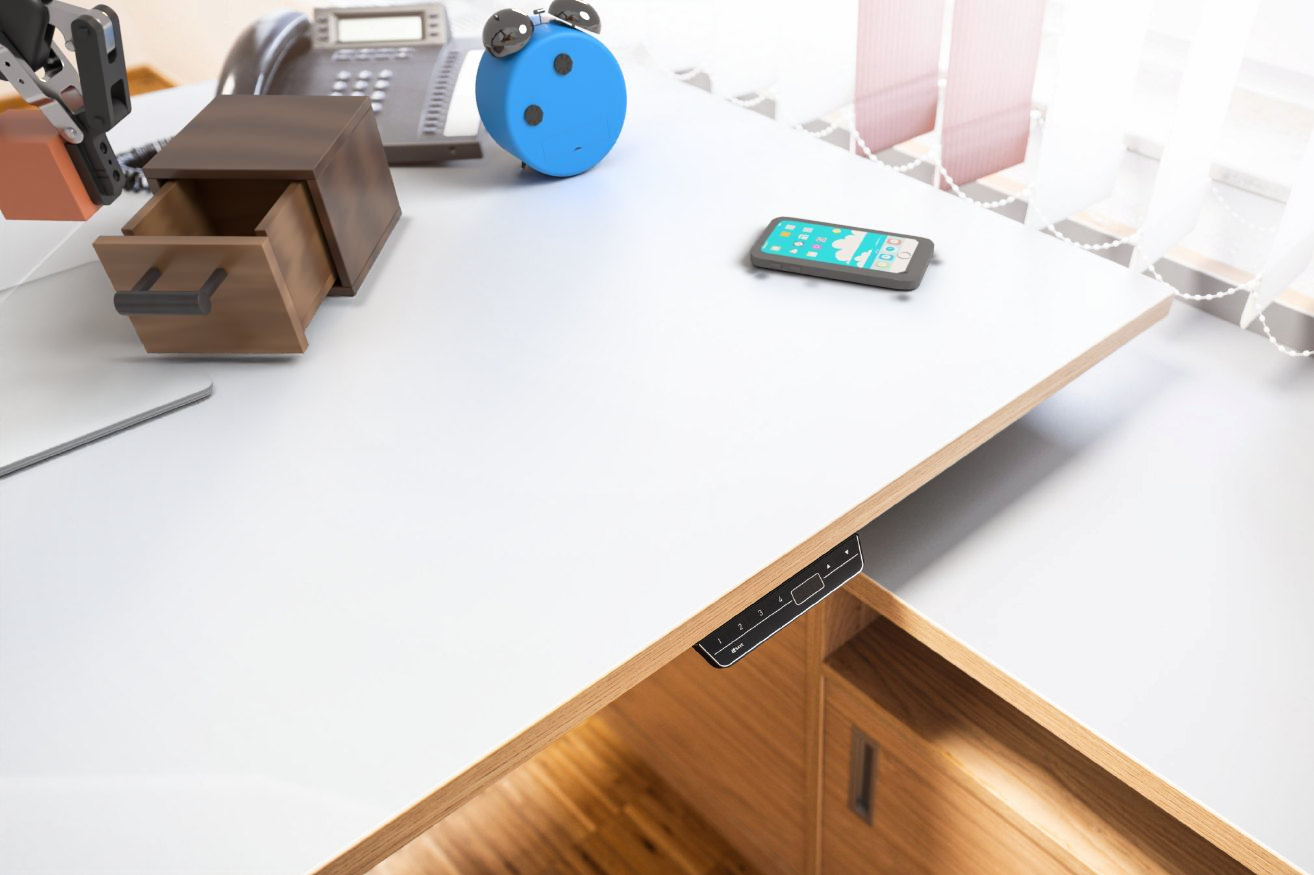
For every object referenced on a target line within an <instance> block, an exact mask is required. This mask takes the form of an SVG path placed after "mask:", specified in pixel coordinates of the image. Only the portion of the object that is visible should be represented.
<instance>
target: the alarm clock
mask: <svg viewBox="0 0 1314 875" xmlns="http://www.w3.org/2000/svg"><path fill="white" fill-rule="evenodd" d="M532 13H533V15H532V16H531V15H530V16H529V15H528V14H527V13H526V12H524V11H523V10H521V9H518V8H513V7H512V8H511V7H510V8H508V7H507V8H503V9H500V10H498V11H495V13H492V15H491V16H490V17H489V18H488V19H487V20H486V22H485V24H484V26H483V29H482V34H481V40H482V45H483V47H484V51H483V53H482V55H481V57H480V59H479V63H478V66H477V70H476V75H475V84H474V92H475V93H474V94H475V103H476V108H477V111H478V115H479V118H480V120H481V123H482V124H483V126H484V128H485V130H486V132H487V133H488V134H489V136H490V137H491V139H492V140H493V141H494V142H495V143H496V144H497V145H498V146H499V147H500V148H502V149H503V150H504V151H506V152H507V153H509V154H511V155H512V156H513V157H514V158H516V159H518V160H519V161H521V162H520V164H521V166H520V169H521V170H525V169H526V166H529V167H531V168H532V169H534V170H535V171H537V172H539V173H540V174H541V173H542V174H545V175H548V176H552V177H573V176H576V175H580V174H582V173H584V172H587V171H589V170H591V169H592V168H593V167H595V166H596V165H598V164H599V163H600V162H601V161H602V160H603V159H605V157H607V155H608V154H609V153H610V152H611V151H612V149H613V147H614V146H615V144H616V143H617V141H618V139H619V137H620V136H621V133H622V130H623V127H624V124H625V120H626V116H627V107H628V94H627V86H626V80H625V76H624V74H623V70H622V68H621V66H620V63H619V62H618V60H617V58H616V56H615V55H614V54H613V53H612V51H611V50H610V49H609V48H608V47H607V46H606V45H605V44H604V43H603V42H602V41H600V40H599V39H597V37H594V36H592V35H591V34H590V33H593V34H596V35H601V33H602V27H603V26H602V21H601V18H600V15H599V14H598V11H596V9H595V8H594V7H593V6H592V5H591V4H590V3H588V2H586V1H584V0H553V1H551V3H550V4H549V6H548V9H547V14H549V15H551V16H553V17H551V16H546V15H541V14H544V13H546V9H545V8H544V7H543V8H542V7H541V8H538V9H533V11H532ZM579 28H580V29H579ZM581 29H583V30H585V31H588V32H590V33H587V32H585V31H583V30H581Z"/></svg>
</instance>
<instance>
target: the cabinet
mask: <svg viewBox="0 0 1314 875" xmlns="http://www.w3.org/2000/svg"><path fill="white" fill-rule="evenodd" d="M141 171H142V173H143V175H144V176H143V177H144V178H145V180H146V182H147V184H148V187H149V189H150V191H151V194H152V197H153V196H154V195H155V194H156V193H157V191H158V190H159V189H160V188H161V187H162V186H163V185H164V184H165V183H166V182H167V181H168V180H169V179H280V180H307V183H308V186H309V189H310V192H311V195H312V198H313V201H314V204H315V207H316V210H317V213H318V216H319V219H320V221H321V224H322V227H323V230H324V233H325V236H326V239H327V242H328V245H329V248H330V251H331V254H332V257H333V260H334V263H335V266H336V269H337V272H338V275H339V276H338V277H337V279H336V280H335V282H334V284H333V285H332V287H331V289H330V290H329V292H328V294H327V295H326V297H331V296H332V297H338V296H339V297H340V296H341V297H347V296H348V297H353V296H354V297H355V296H356V295H357V293H358V291H359V290H360V287H361V286H362V284H364V281H365V279H366V277H367V276H368V274H369V272H370V271H371V269H372V267H373V266H374V264H375V262H376V260H377V258H378V256H379V255H380V253H381V251H382V249H383V248H384V247H385V245H386V243H387V241H388V239H389V238H390V236H391V235H392V232H393V231H394V228H395V227H396V225H397V223H398V222H399V220H400V218H401V217H402V215H403V212H402V208H401V205H400V201H399V198H398V193H397V190H396V188H395V183H394V179H393V176H392V172H391V169H390V165H389V162H388V158H387V154H386V152H385V148H384V144H383V141H382V137H381V133H380V130H379V126H378V123H377V118H376V115H375V112H374V109H373V106H372V101H371V97H370V96H369V95H315V94H314V95H313V94H311V95H309V94H308V95H307V94H298V95H297V94H225V93H224V94H221V93H220V94H217V95H216V96H215V97H214V98H213V99H212V100H211V101H210V102H209V103H207V104H206V105H205V106H204V107H203V109H201V110H200V112H198V113H197V114H196V115H195V116H194V117H193V118H192V119H191V120H190V121H189V122H188V123H187V124H186V125H184V127H182V129H181V130H180V131H178V133H177V134H176V135H175V136H174V137H172V138H171V139H170V140H169V141H168V142H167V143H166V144H165V145H164V146H163V147H162V148H161V149H160V150H159V151H158V152H157V153H156V154H155V155H154V156H153V157H152V158H151V159H150V160H149V161H148V162H147V163H146V164H145V165H143V166H142V168H141Z"/></svg>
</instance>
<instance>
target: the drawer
mask: <svg viewBox="0 0 1314 875" xmlns="http://www.w3.org/2000/svg"><path fill="white" fill-rule="evenodd" d="M120 231H121V232H122V235H99V236H97V238H96V239H95V240H94V241H93V242H92V243H91V245H92V247H93V250H94V252H95V253H96V256H97V257H98V259H99V261H100V263H101V265H102V267H103V269H104V271H105V273H106V275H107V277H108V279H109V282H110V283H111V284H112V287H113V289H114V290H115V293H114V295H113V305H114V308H115V310H116V312H117V313H118V314H119V315H121V316H128V318H129V321H130V322H131V323H132V326H133V328H134V330H135V332H136V334H137V336H138V337H139V340H140V342H141V344H142V346H143V348H144V350H145V351H146V354H186V355H187V354H188V355H189V354H198V355H199V354H200V355H201V354H202V355H203V354H204V355H205V354H211V355H213V354H215V355H216V354H223V355H225V354H226V355H227V354H231V355H232V354H237V355H238V354H240V355H241V354H243V355H244V354H249V355H250V354H251V355H253V354H254V355H256V354H258V355H261V354H263V355H265V354H266V355H268V354H271V355H273V354H274V355H275V354H276V355H284V354H285V355H290V354H291V355H304V354H305V353H306V351H307V349H308V348H309V345H310V344H309V341H308V339H307V336H306V333H305V331H306V330H307V328H308V326H309V325H310V323H311V322H312V319H313V318H314V317H315V315H316V313H317V311H318V310H319V308H320V307H321V306H322V303H323V302H324V300H325V298H326V297H327V296H326V295H327V294H328V292H329V290H330V289H331V287H332V285H333V284H334V282H335V280H336V279H337V277H338V276H339V275H338V272H337V269H336V266H335V263H334V260H333V257H332V254H331V251H330V248H329V245H328V242H327V239H326V236H325V233H324V230H323V227H322V224H321V221H320V219H319V216H318V213H317V210H316V207H315V204H314V201H313V198H312V195H311V192H310V189H309V186H308V183H307V180H280V179H169V180H168V181H167V182H166V183H165V184H164V185H163V186H162V187H161V188H160V189H159V190H158V191H157V193H156V194H155V195H154V196H153V195H152V197H151V198H150V199H149V200H147V202H146V203H144V205H142V207H141V208H140V209H139V210H138V211H137V212H135V214H134V215H133V216H132V217H131V218H130V219H129V220H128V221H127V222H126V223H125V224H124V225H123V226H122V227H121V229H120Z"/></svg>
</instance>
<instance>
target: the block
mask: <svg viewBox="0 0 1314 875" xmlns="http://www.w3.org/2000/svg"><path fill="white" fill-rule="evenodd" d="M66 142H67V140H65V139H64V138H63V137H62V136H61V135H60V134H59V132H58V131H57V130H56V129H55V127H54V126H53V125H52V124H51V122H50V121H49V120H48V119H47V117H46V116H45V115H44V114H43V113H42V111H41V110H40V109H28V108H27V109H22V108H21V109H20V108H7V109H6V110H5V111H3V112H1V114H0V212H1V214H2V216H3V218H4V219H5V220H6V221H40V222H41V221H42V222H43V221H45V222H46V221H47V222H88V221H89V220H90V219H91V218H92V217H93V216H94V215H95V214H96V213H97V212H98V211H99V210H100V209H101V208H102V207H103V206H104V205H95V204H93V203H92V201H91V199H90V197H89V195H88V193H87V191H86V189H85V187H84V185H83V183H82V181H81V179H80V177H79V175H78V173H77V171H76V169H75V167H74V164H73V162H72V160H71V158H70V156H69V154H68V152H67V150H66V148H65V146H64V144H65V143H66Z"/></svg>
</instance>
